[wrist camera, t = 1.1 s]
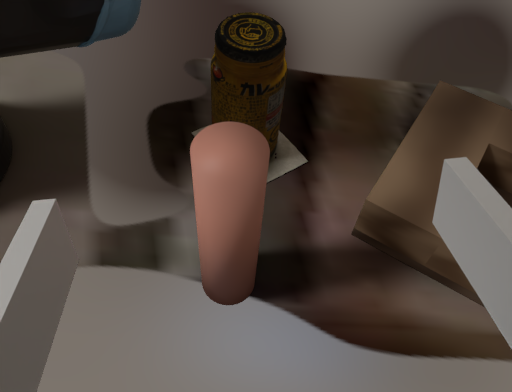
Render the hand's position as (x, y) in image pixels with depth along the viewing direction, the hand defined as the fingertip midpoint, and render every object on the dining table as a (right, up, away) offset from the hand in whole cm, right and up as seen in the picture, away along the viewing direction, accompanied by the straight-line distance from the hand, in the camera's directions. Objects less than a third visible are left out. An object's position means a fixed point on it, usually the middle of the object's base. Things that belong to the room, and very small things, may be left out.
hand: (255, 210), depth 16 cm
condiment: (-1, +5, +28) cm, 28 cm away
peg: (-2, -6, +20) cm, 21 cm away
